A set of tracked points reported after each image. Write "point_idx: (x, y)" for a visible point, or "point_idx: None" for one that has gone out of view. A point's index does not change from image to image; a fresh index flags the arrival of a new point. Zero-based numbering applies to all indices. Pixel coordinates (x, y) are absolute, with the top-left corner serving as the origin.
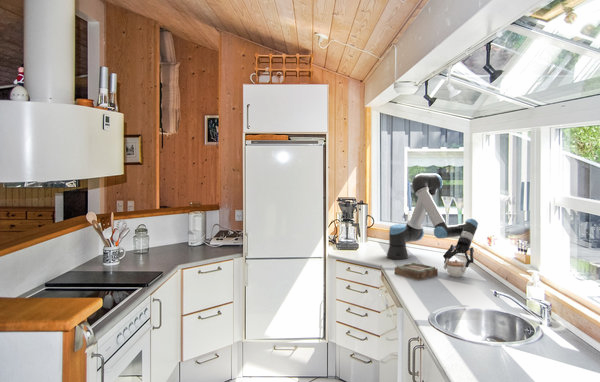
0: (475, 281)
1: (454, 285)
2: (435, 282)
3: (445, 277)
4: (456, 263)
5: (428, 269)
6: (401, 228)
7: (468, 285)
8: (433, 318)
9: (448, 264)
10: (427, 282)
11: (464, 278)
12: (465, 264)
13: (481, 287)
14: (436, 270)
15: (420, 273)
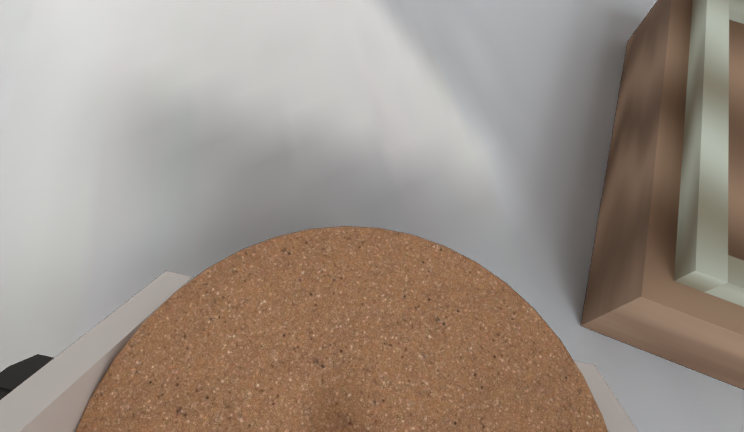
0: (34, 249)
1: (278, 12)
2: (464, 33)
3: None
4: (318, 363)
5: (692, 126)
6: None
7: (141, 57)
8: None
9: (493, 281)
10: (524, 9)
11: None
12: (55, 369)
13: (5, 42)
14: (629, 271)
15: (666, 5)
